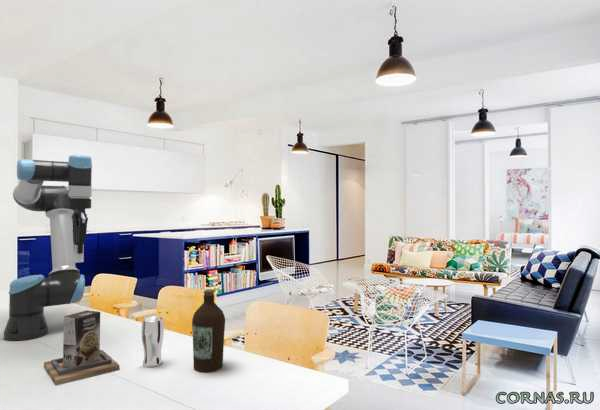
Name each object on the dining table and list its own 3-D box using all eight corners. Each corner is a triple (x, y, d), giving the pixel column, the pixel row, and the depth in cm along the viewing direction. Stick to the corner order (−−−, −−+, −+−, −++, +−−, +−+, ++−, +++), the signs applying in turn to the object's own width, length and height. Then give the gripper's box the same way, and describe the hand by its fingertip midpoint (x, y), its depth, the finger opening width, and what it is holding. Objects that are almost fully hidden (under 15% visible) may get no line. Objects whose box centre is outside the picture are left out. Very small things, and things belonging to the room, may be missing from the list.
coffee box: (77, 370, 130) (77, 318, 130) (62, 366, 133) (62, 316, 133) (100, 360, 139) (101, 311, 139) (86, 357, 141) (86, 309, 141)
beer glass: (167, 361, 142) (168, 317, 142) (154, 369, 135) (154, 322, 135) (150, 359, 144) (151, 315, 144) (136, 366, 137) (137, 320, 137)
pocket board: (43, 366, 136) (43, 358, 136) (102, 354, 148) (102, 346, 148) (55, 385, 123) (55, 376, 123) (119, 369, 135) (119, 361, 135)
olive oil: (202, 359, 144) (203, 286, 144) (230, 363, 141) (230, 289, 141) (185, 370, 134) (185, 293, 134) (214, 375, 131) (215, 295, 131)
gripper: (64, 197, 155) (63, 260, 156) (72, 197, 145) (71, 265, 146) (86, 197, 160) (85, 259, 161) (95, 198, 150) (95, 263, 151)
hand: (79, 262), depth 153 cm, fingers closed
